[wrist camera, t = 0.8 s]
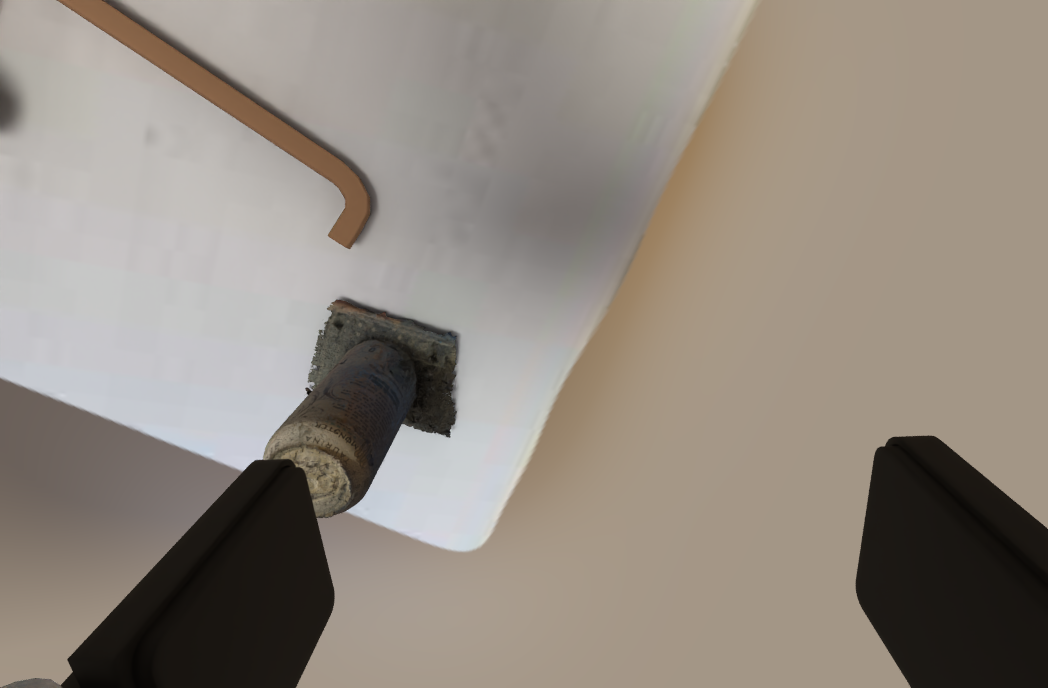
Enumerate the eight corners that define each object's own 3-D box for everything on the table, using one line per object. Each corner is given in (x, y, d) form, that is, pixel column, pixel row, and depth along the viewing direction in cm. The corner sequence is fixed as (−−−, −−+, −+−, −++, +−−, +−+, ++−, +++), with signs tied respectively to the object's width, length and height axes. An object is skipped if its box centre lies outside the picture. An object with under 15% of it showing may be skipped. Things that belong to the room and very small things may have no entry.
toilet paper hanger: (391, 200, 33) (377, 179, 26) (307, 331, 33) (269, 347, 26) (-48, -95, 29) (-217, -222, 21) (-143, 60, 29) (-343, -14, 22)
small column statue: (465, 313, 32) (399, 425, 21) (456, 432, 35) (395, 584, 24) (306, 291, 32) (160, 388, 21) (311, 410, 35) (185, 549, 24)
